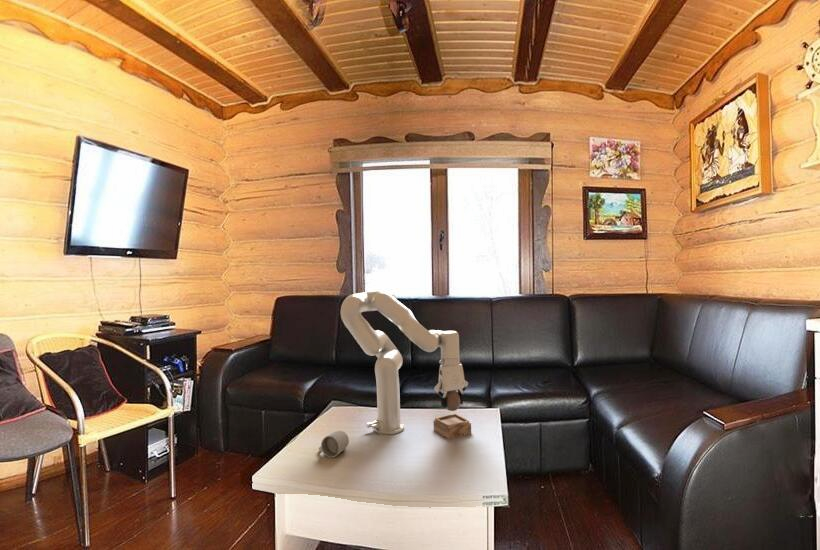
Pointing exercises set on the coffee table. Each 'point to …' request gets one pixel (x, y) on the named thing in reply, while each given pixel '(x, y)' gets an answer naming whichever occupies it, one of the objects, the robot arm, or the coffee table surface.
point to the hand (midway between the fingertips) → (452, 404)
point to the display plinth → (452, 425)
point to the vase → (452, 400)
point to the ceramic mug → (334, 444)
